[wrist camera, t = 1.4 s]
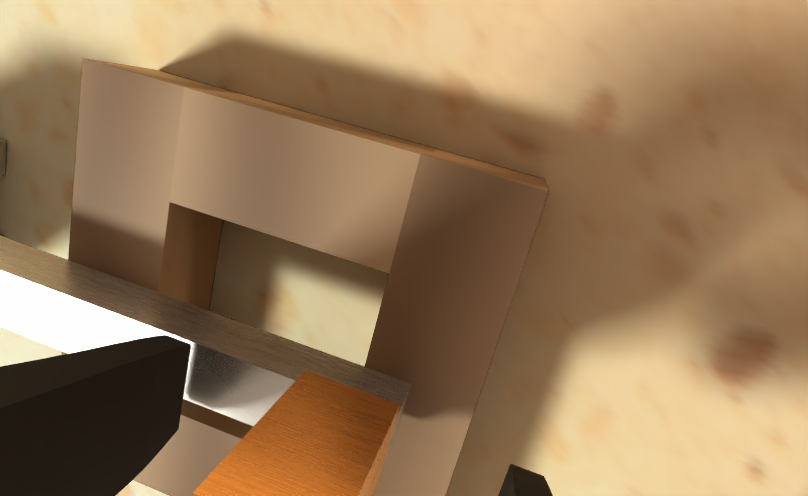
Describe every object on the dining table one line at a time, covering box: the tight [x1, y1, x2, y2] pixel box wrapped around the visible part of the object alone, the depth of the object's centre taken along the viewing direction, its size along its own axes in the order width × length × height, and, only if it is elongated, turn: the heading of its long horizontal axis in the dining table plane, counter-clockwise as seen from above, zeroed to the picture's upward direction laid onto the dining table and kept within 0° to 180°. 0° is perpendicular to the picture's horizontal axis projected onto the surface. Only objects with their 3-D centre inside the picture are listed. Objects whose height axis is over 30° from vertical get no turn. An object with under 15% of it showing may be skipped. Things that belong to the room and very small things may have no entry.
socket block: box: [62, 58, 549, 496], centre depth 14 cm, size 11×11×2 cm
